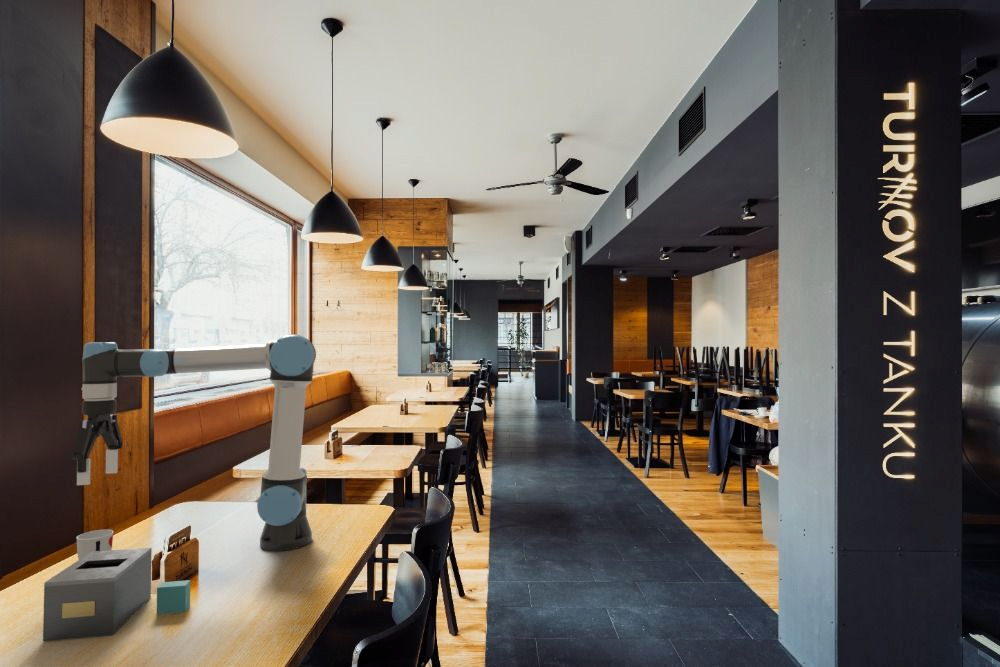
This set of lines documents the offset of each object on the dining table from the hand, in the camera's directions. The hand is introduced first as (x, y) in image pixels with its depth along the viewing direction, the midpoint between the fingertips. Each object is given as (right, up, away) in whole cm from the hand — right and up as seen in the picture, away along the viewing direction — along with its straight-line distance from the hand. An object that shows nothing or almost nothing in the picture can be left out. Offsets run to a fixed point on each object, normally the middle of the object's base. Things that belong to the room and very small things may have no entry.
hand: (98, 478), depth 147 cm
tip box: (+18, -25, -24) cm, 39 cm away
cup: (-3, -26, +2) cm, 26 cm away
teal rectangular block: (+32, -25, -20) cm, 46 cm away
